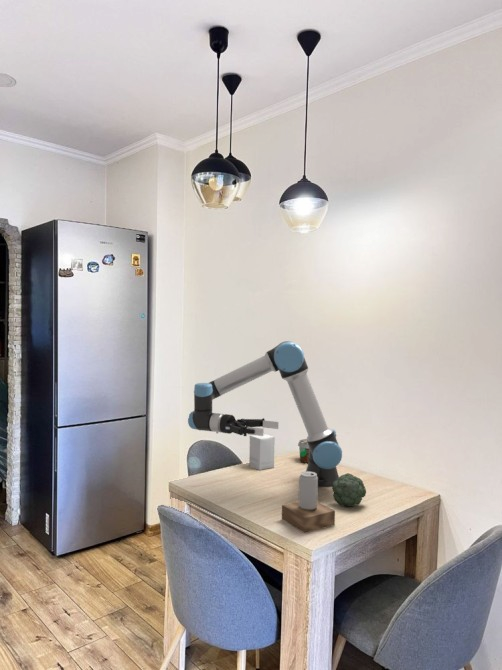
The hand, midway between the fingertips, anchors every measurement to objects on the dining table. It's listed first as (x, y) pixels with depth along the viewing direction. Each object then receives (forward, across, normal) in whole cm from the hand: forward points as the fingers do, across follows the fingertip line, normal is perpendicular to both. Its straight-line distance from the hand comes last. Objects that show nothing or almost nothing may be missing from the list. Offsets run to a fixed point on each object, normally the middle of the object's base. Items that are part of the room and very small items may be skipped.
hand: (270, 428), depth 185 cm
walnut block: (+19, +11, -28) cm, 36 cm away
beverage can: (+19, +11, -24) cm, 33 cm away
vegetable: (+26, -14, -29) cm, 41 cm away
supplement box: (-23, -39, -28) cm, 53 cm away
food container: (-9, -58, -29) cm, 66 cm away
